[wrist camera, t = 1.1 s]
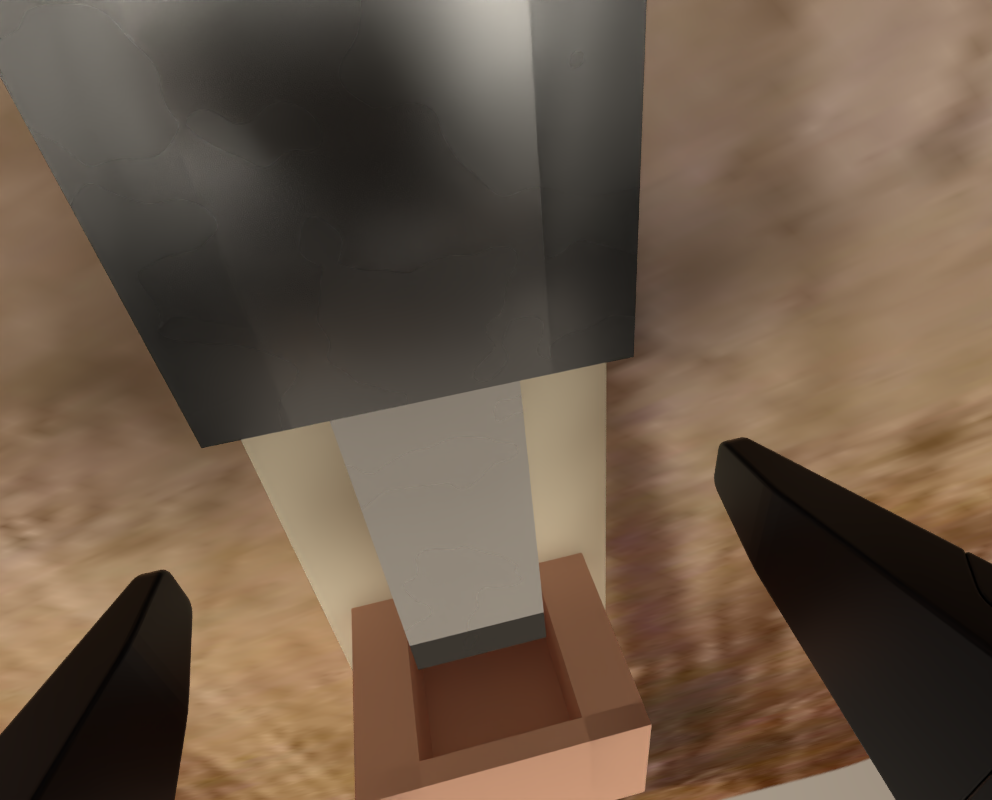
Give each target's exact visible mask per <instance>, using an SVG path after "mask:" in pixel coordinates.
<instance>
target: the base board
mask: <svg viewBox="0 0 992 800" xmlns="http://www.w3.org/2000/svg"><path fill="white" fill-rule="evenodd" d="M520 386H521V396H522V405H523V415H524V425H525V435H526V444H527V454H528V464H529V473H530V483H531V493H532V503H533V512H534V522H535V532H536V541H537V551H538V561H539V563H541V562H545V561H549V560H553V559H557V558H561V557H566V556H570V555H574V554H578V553H582V554H583V557H584V559H585V562H586V564H587V567H588V569H589V572H590V574H591V577H592V579H593V581H594V584H595V586H596V589H597V591H598V594H599V596H600V599H601V601H602V604H603V606H604V609H605V589H606V363H601V364H597V365H592V366H587V367H582V368H578V369H573V370H568V371H564V372H559V373H554V374H549V375H545V376H540V377H535V378H530V379H526V380H521V381H520ZM241 441H242V444H243V446H244V448H245V450H246V452H247V454H248V456H249V458H250V460H251V462H252V464H253V466H254V468H255V470H256V472H257V475H258V477H259V479H260V481H261V483H262V485H263V487H264V489H265V491H266V493H267V495H268V497H269V499H270V501H271V503H272V506H273V508H274V510H275V512H276V514H277V516H278V518H279V520H280V522H281V524H282V526H283V528H284V530H285V532H286V534H287V537H288V539H289V541H290V543H291V545H292V547H293V549H294V551H295V553H296V555H297V557H298V559H299V561H300V563H301V565H302V568H303V570H304V572H305V574H306V576H307V578H308V580H309V582H310V584H311V586H312V588H313V590H314V592H315V594H316V596H317V599H318V601H319V603H320V605H321V607H322V609H323V611H324V613H325V615H326V617H327V619H328V621H329V623H330V625H331V627H332V630H333V632H334V634H335V636H336V638H337V640H338V642H339V644H340V646H341V648H342V650H343V652H344V654H345V656H346V658H347V661H348V663H349V665H350V667H351V669H352V671H353V664H352V614H351V609H352V608H356V607H360V606H364V605H368V604H372V603H376V602H380V601H385V600H389V599H393V598H392V595H391V592H390V589H389V586H388V584H387V581H386V578H385V575H384V572H383V570H382V567H381V564H380V561H379V558H378V555H377V553H376V550H375V547H374V544H373V541H372V539H371V536H370V533H369V530H368V527H367V525H366V522H365V519H364V516H363V513H362V511H361V508H360V505H359V502H358V499H357V497H356V494H355V491H354V488H353V485H352V482H351V480H350V477H349V474H348V471H347V468H346V466H345V463H344V460H343V457H342V454H341V452H340V449H339V446H338V443H337V440H336V438H335V435H334V432H333V429H332V426H331V424H330V421H327V422H323V423H318V424H313V425H309V426H304V427H299V428H294V429H290V430H285V431H280V432H275V433H271V434H266V435H261V436H257V437H252V438H247V439H242V440H241Z"/></svg>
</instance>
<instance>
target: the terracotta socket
mask: <svg viewBox="0 0 992 800" xmlns="http://www.w3.org/2000/svg"><path fill="white" fill-rule="evenodd" d="M539 571H540V580H541V590H542V600H543V609H544V619H545V629H546V637H545V638H541V639H537V640H533V641H529V642H525V643H522V644H518V645H514V646H510V647H506V648H502V649H498V650H494V651H490V652H486V653H482V654H479V655H475V656H471V657H467V658H463V659H459V660H455V661H451V662H447V663H443V664H439V665H436V666H432V667H428V668H424V669H420V670H418V668H417V665H416V662H415V659H414V657H413V654H412V651H411V648H410V645H409V643H408V640H407V637H406V634H405V631H404V628H403V626H402V623H401V620H400V617H399V614H398V612H397V609H396V606H395V603H394V600H393V599H389V600H385V601H380V602H376V603H372V604H368V605H364V606H360V607H356V608H352V609H351V614H352V664H353V715H354V765H355V800H617V799H620V798H624V797H627V796H631V795H634V794H638V793H641V792H644V791H645V782H646V773H647V763H648V753H649V744H650V734H651V722H650V720H649V717H648V715H647V712H646V710H645V707H644V705H643V702H642V700H641V697H640V695H639V692H638V690H637V688H636V685H635V683H634V680H633V678H632V675H631V673H630V670H629V668H628V665H627V663H626V660H625V658H624V655H623V653H622V651H621V648H620V646H619V643H618V641H617V638H616V636H615V633H614V631H613V628H612V626H611V623H610V621H609V618H608V616H607V614H606V611H605V609H604V606H603V604H602V601H601V599H600V596H599V594H598V591H597V589H596V586H595V584H594V581H593V579H592V577H591V574H590V572H589V569H588V567H587V564H586V562H585V559H584V557H583V554H582V553H578V554H574V555H570V556H566V557H561V558H557V559H553V560H549V561H545V562H541V563H539Z"/></svg>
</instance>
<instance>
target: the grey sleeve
mask: <svg viewBox="0 0 992 800" xmlns="http://www.w3.org/2000/svg"><path fill="white" fill-rule="evenodd" d="M646 1H647V0H0V77H1V79H2V81H3V83H4V85H5V86H6V88H7V90H8V92H9V94H10V96H11V98H12V99H13V101H14V103H15V105H16V107H17V109H18V110H19V112H20V114H21V116H22V118H23V120H24V121H25V123H26V125H27V127H28V129H29V131H30V133H31V134H32V136H33V138H34V140H35V142H36V144H37V145H38V147H39V149H40V151H41V153H42V155H43V157H44V158H45V160H46V162H47V164H48V166H49V168H50V169H51V171H52V173H53V175H54V177H55V179H56V181H57V182H58V184H59V186H60V188H61V190H62V192H63V193H64V195H65V197H66V199H67V201H68V203H69V204H70V206H71V208H72V210H73V212H74V214H75V216H76V217H77V219H78V221H79V223H80V225H81V227H82V228H83V230H84V232H85V234H86V236H87V238H88V240H89V241H90V243H91V245H92V247H93V249H94V251H95V252H96V254H97V256H98V258H99V260H100V262H101V264H102V265H103V267H104V269H105V271H106V273H107V275H108V276H109V278H110V280H111V282H112V284H113V286H114V288H115V289H116V291H117V293H118V295H119V297H120V299H121V300H122V302H123V304H124V306H125V308H126V310H127V311H128V313H129V315H130V317H131V319H132V321H133V323H134V324H135V326H136V328H137V330H138V332H139V334H140V335H141V337H142V339H143V341H144V343H145V345H146V347H147V348H148V350H149V352H150V354H151V356H152V358H153V359H154V361H155V363H156V365H157V367H158V369H159V371H160V372H161V374H162V376H163V378H164V380H165V382H166V383H167V385H168V387H169V389H170V391H171V393H172V395H173V396H174V398H175V400H176V402H177V404H178V406H179V407H180V409H181V411H182V413H183V415H184V417H185V418H186V420H187V422H188V424H189V426H190V428H191V430H192V431H193V433H194V435H195V437H196V439H197V441H198V442H199V444H200V446H201V448H205V447H209V446H214V445H219V444H224V443H228V442H233V441H238V440H242V439H247V438H252V437H257V436H261V435H266V434H271V433H275V432H280V431H285V430H290V429H294V428H299V427H304V426H309V425H313V424H318V423H323V422H327V421H332V420H337V419H342V418H346V417H351V416H356V415H360V414H365V413H370V412H375V411H379V410H384V409H389V408H394V407H398V406H403V405H408V404H412V403H417V402H422V401H427V400H431V399H436V398H441V397H445V396H450V395H455V394H460V393H464V392H469V391H474V390H479V389H483V388H488V387H493V386H497V385H502V384H507V383H512V382H516V381H521V380H526V379H530V378H535V377H540V376H545V375H549V374H554V373H559V372H564V371H568V370H573V369H578V368H582V367H587V366H592V365H597V364H601V363H606V362H611V361H615V360H620V359H625V358H630V357H634V330H635V303H636V275H637V248H638V221H639V193H640V166H641V138H642V111H643V83H644V56H645V29H646Z"/></svg>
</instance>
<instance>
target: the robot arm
mask: <svg viewBox="0 0 992 800" xmlns="http://www.w3.org/2000/svg"><path fill="white" fill-rule="evenodd" d="M714 482H715V486H716V489H717V492H718V494H719V496H720V498H721V500H722V502H723V504H724V507H725V509H726V511H727V513H728V515H729V517H730V519H731V521H732V524H733V526H734V528H735V530H736V532H737V534H738V536H739V538H740V541H741V543H742V545H743V547H744V549H745V551H746V553H747V555H748V557H749V559H750V561H751V563H752V565H753V567H754V569H755V571H756V573H757V574H758V576H759V578H760V579H761V581H762V583H763V584H764V586H765V588H766V589H767V591H768V593H769V594H770V596H771V597H772V599H773V601H774V602H775V604H776V606H777V607H778V609H779V610H780V612H781V614H782V615H783V617H784V619H785V620H786V622H787V623H788V625H789V627H790V628H791V630H792V632H793V633H794V635H795V637H796V638H797V640H798V641H799V643H800V645H801V646H802V648H803V650H804V651H805V653H806V654H807V656H808V658H809V659H810V661H811V663H812V664H813V666H814V667H815V669H816V671H817V672H818V674H819V676H820V677H821V679H822V680H823V682H824V684H825V685H826V687H827V689H828V690H829V692H830V694H831V695H832V697H833V698H834V700H835V702H836V703H837V705H838V707H839V708H840V710H841V711H842V713H843V715H844V716H845V718H846V720H847V721H848V723H849V724H850V726H851V728H852V729H853V731H854V733H855V734H856V736H857V737H858V739H859V741H860V742H861V744H862V746H863V747H864V749H865V751H866V752H867V754H868V755H869V757H870V759H871V760H872V762H873V764H874V765H875V767H876V768H877V770H878V772H879V773H880V775H881V776H882V778H883V780H884V781H885V783H886V784H887V786H888V788H889V790H890V791H891V792H892V794H893V796H894V798H895V799H896V800H992V564H991V563H989V562H987V561H985V560H984V559H982V558H980V557H978V556H976V555H974V554H972V553H970V552H966V553H965V552H964V550H963V549H962V548H960V547H958V546H956V545H954V544H952V543H950V542H948V541H946V540H944V539H942V538H940V537H939V536H937V535H935V534H933V533H931V532H929V531H927V530H925V529H923V528H921V527H919V526H917V525H915V524H913V523H911V522H909V521H908V520H906V519H904V518H902V517H900V516H898V515H896V514H894V513H892V512H890V511H888V510H886V509H884V508H882V507H880V506H878V505H876V504H875V503H873V502H871V501H869V500H867V499H865V498H863V497H861V496H859V495H857V494H855V493H853V492H851V491H849V490H847V489H845V488H844V487H842V486H840V485H838V484H836V483H834V482H832V481H830V480H828V479H826V478H824V477H822V476H820V475H818V474H816V473H814V472H812V471H811V470H809V469H807V468H805V467H803V466H801V465H799V464H797V463H795V462H793V461H791V460H789V459H787V458H785V457H783V456H781V455H780V454H778V453H776V452H774V451H772V450H770V449H768V448H766V447H764V446H762V445H760V444H758V443H756V442H754V441H752V440H750V439H748V438H744V437H741V438H737V439H732V440H728V441H724V442H722V443H721V444H720V446H719V449H718V455H717V461H716V468H715V474H714ZM191 638H192V607H191V603H190V601H189V599H188V597H187V596H186V594H185V593H184V591H183V590H182V589H181V587H180V586H179V584H178V583H177V582H176V580H175V579H174V577H173V576H172V575H171V573H170V572H168V571H166V570H158V571H154V572H150V573H145V574H141V575H139V576H137V577H136V578H134V579H133V580H132V581H131V583H130V584H129V585H128V586H127V587H126V588H125V590H124V591H123V592H122V593H121V594H120V595H119V597H118V598H117V599H116V600H115V601H114V602H113V604H112V605H111V606H110V607H109V608H108V609H107V611H106V612H105V613H104V614H103V615H102V616H101V618H100V619H99V620H98V621H97V622H96V623H95V625H94V626H93V627H92V628H91V629H90V630H89V632H88V633H87V634H86V635H85V636H84V637H83V639H82V640H81V641H80V642H79V643H78V644H77V646H76V647H75V648H74V649H73V650H72V651H71V653H70V654H69V655H68V656H67V657H66V658H65V660H64V661H63V662H62V663H61V664H60V665H59V667H58V668H57V669H56V670H55V671H54V672H53V674H52V675H51V676H50V677H49V678H48V679H47V681H46V682H45V683H44V684H43V685H42V686H41V688H40V689H39V690H38V691H37V692H36V693H35V695H34V696H33V697H32V698H31V699H30V700H29V702H28V703H27V704H26V705H25V706H24V707H23V709H22V710H21V711H20V712H19V713H18V715H17V716H16V717H15V718H14V719H13V720H12V722H11V723H10V724H9V725H8V726H7V727H6V729H5V730H4V731H3V732H2V733H1V734H0V800H175V794H176V787H177V781H178V775H179V768H180V762H181V755H182V749H183V743H184V736H185V730H186V723H187V715H188V705H189V688H190V663H191Z"/></svg>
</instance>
